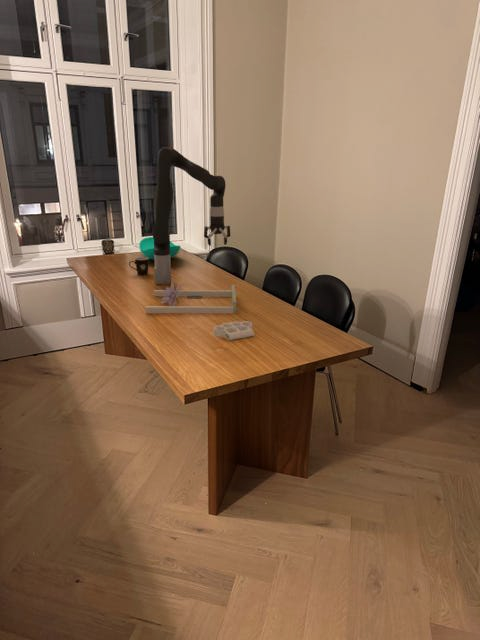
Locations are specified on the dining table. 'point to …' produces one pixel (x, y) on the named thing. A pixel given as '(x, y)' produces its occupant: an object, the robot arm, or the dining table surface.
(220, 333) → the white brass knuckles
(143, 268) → the coffee mug
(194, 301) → the dining table surface
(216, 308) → the grey u-shaped frame
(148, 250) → the table top decor
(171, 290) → the water lily
